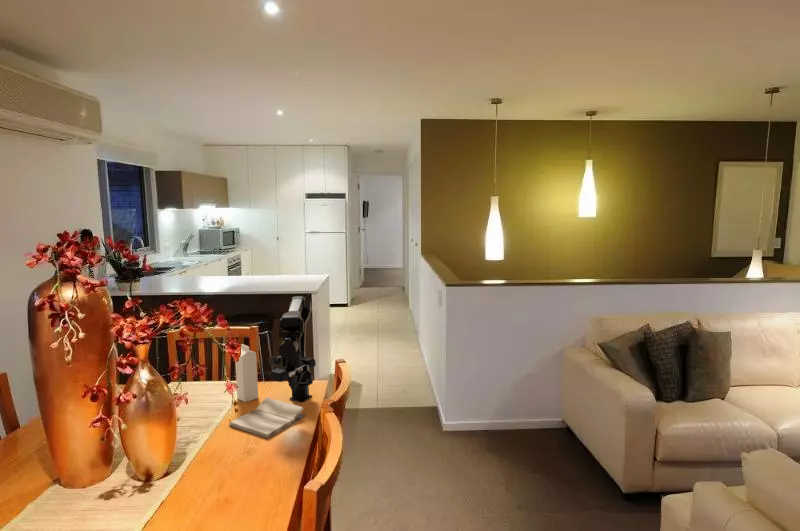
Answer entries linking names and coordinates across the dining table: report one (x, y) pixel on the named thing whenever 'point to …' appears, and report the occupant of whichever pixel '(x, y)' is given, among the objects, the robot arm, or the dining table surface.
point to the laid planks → (261, 423)
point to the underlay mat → (278, 431)
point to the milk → (246, 375)
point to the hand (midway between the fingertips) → (293, 391)
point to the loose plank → (280, 409)
